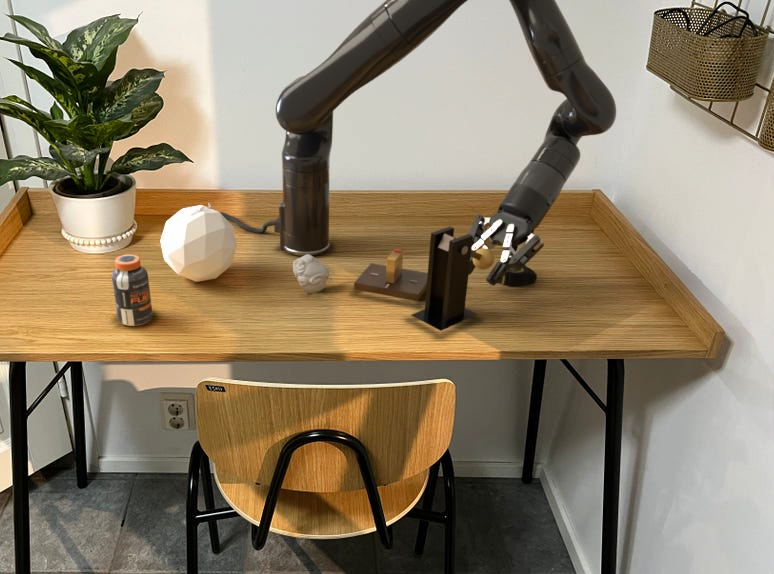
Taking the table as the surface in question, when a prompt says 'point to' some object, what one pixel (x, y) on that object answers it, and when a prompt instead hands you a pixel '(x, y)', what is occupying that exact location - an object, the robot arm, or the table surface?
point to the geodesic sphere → (198, 243)
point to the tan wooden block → (394, 266)
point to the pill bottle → (131, 291)
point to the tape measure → (518, 277)
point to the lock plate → (404, 287)
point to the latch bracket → (447, 281)
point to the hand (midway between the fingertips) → (477, 277)
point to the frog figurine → (310, 274)
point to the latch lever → (472, 253)
